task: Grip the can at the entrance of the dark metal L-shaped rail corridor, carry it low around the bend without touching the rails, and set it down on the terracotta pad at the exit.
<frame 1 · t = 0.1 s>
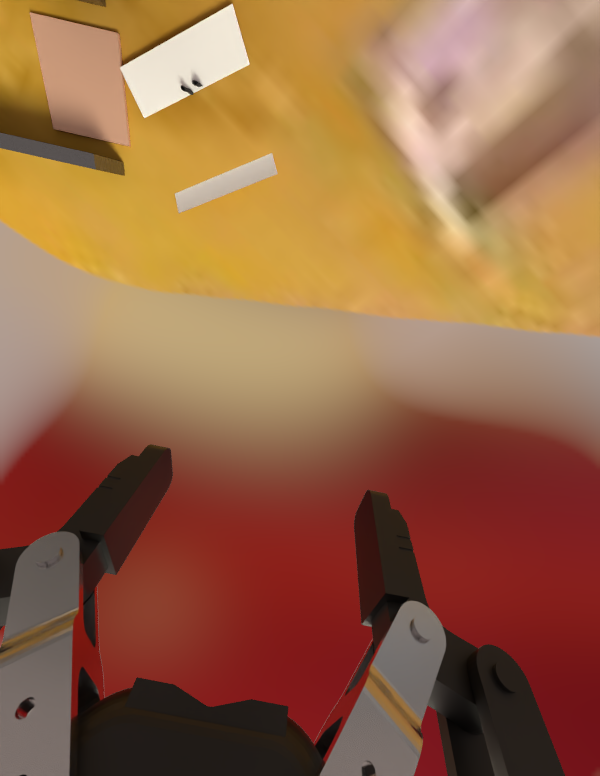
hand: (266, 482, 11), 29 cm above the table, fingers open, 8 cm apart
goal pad: (85, 85, 28), on the table
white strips: (207, 128, 29), on the table
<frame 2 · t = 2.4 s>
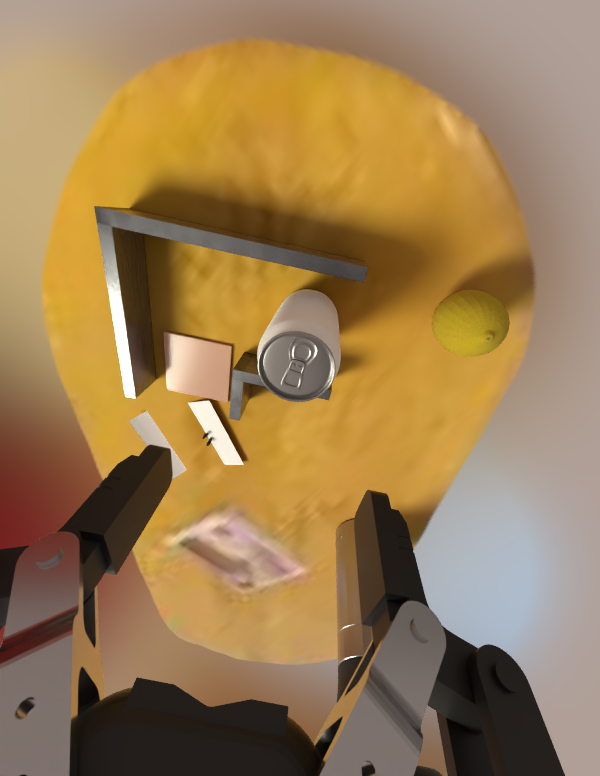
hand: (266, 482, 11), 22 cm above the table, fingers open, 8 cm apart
can: (308, 318, 30), on the table
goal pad: (198, 368, 35), on the table
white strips: (193, 435, 41), on the table
guide rails: (242, 322, 31), on the table
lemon: (449, 310, 29), on the table
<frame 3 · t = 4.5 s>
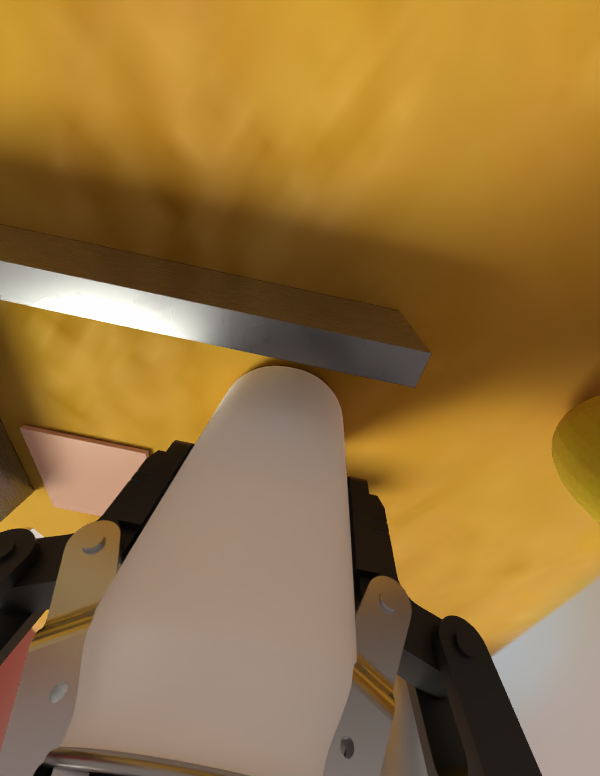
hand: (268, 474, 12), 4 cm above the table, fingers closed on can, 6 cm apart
can: (284, 412, 16), on the table, touching gripper
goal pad: (98, 479, 20), on the table
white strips: (116, 555, 27), on the table
guide rails: (160, 416, 16), on the table
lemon: (576, 406, 14), on the table
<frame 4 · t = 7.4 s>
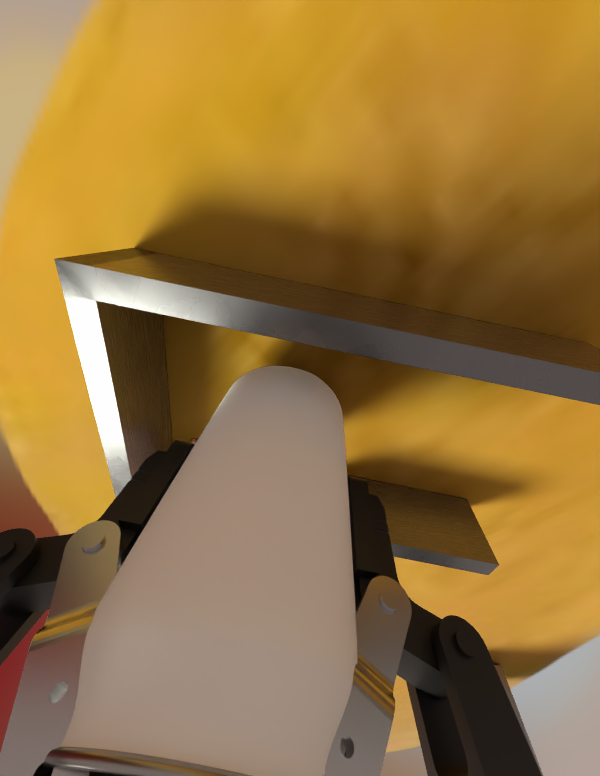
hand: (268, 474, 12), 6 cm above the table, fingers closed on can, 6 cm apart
can: (284, 412, 16), point 2 cm above the table, touching gripper
guide rails: (328, 432, 18), on the table
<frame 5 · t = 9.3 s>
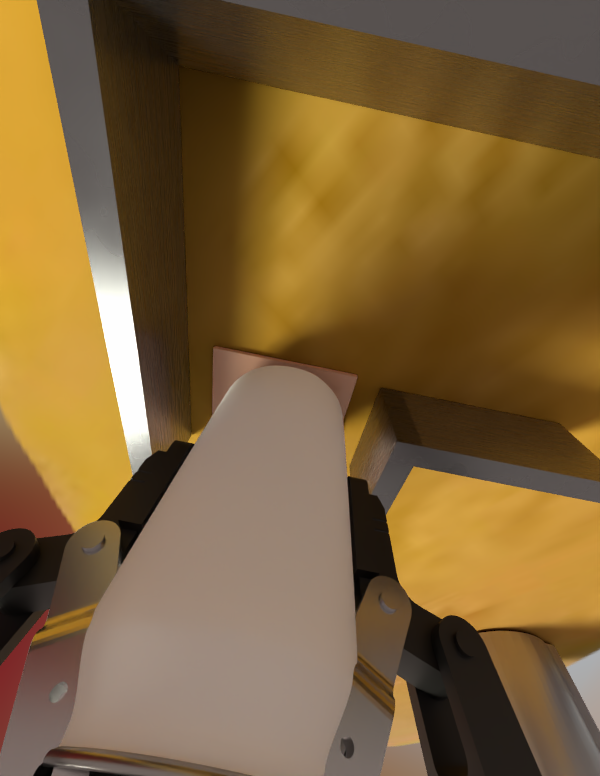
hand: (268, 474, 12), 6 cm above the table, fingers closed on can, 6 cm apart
can: (284, 412, 16), point 1 cm above the table, touching gripper
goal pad: (276, 416, 18), on the table
guide rails: (393, 327, 14), on the table
when the fingers open (5 cm above the table, at t = 10.6 s): can stays where it is, resting on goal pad.
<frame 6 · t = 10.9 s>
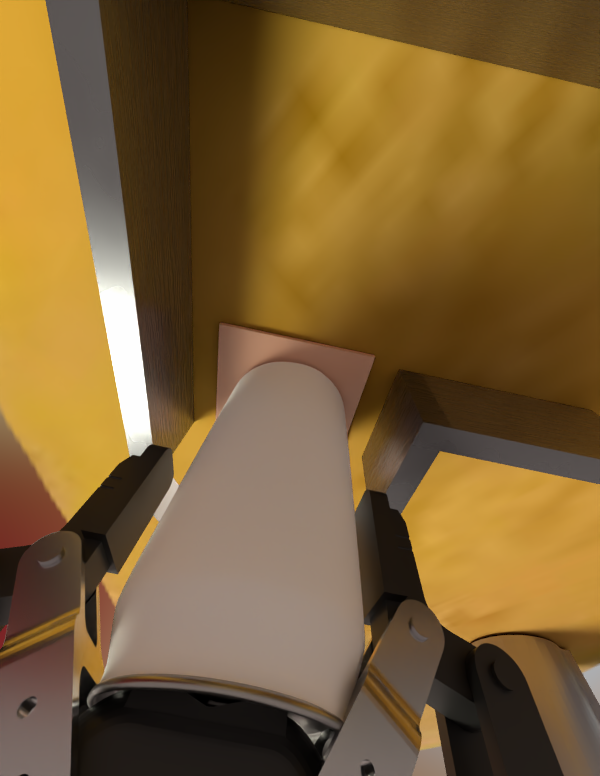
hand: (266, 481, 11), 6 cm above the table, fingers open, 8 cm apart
can: (288, 406, 16), resting on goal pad
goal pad: (285, 401, 16), on the table
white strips: (252, 511, 23), on the table
guide rails: (416, 300, 13), on the table
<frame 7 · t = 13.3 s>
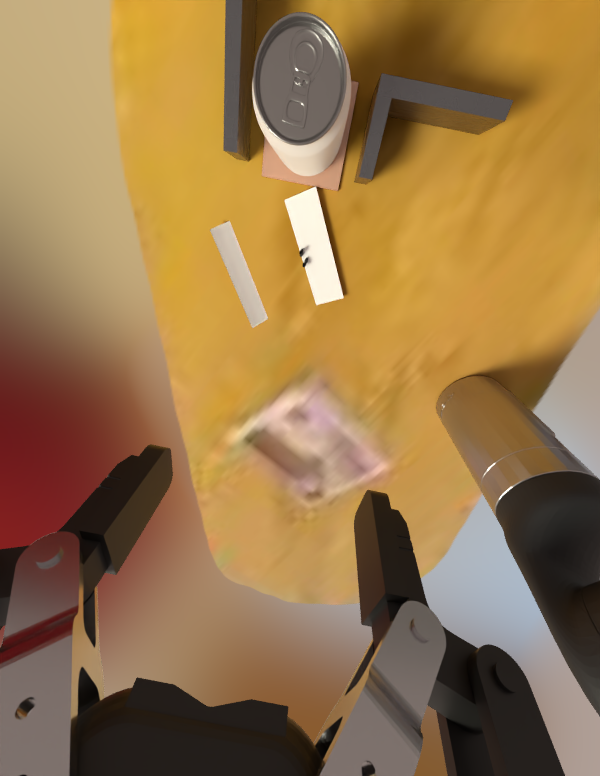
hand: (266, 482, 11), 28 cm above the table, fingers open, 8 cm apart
can: (308, 135, 27), resting on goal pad
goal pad: (306, 133, 27), on the table
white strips: (282, 262, 34), on the table
guide rails: (379, 35, 24), on the table
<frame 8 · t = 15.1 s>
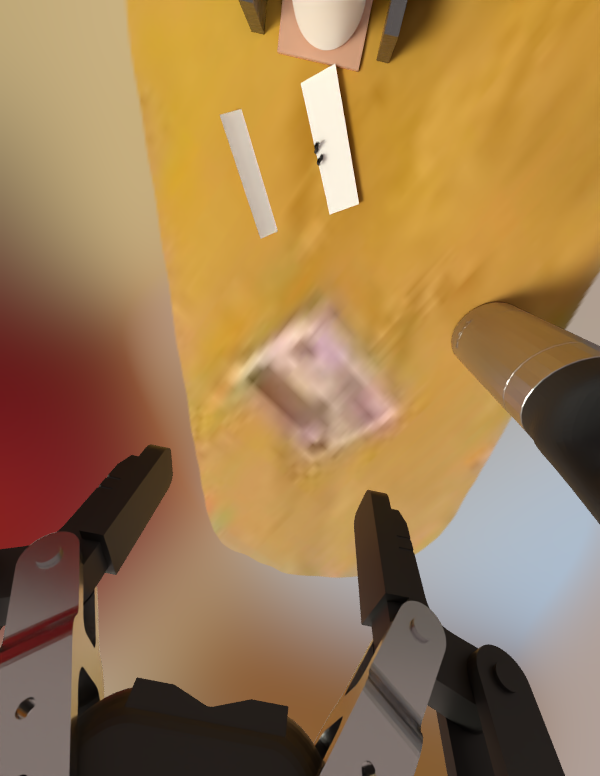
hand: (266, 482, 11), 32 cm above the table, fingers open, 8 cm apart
can: (329, 1, 25), resting on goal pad
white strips: (294, 163, 32), on the table
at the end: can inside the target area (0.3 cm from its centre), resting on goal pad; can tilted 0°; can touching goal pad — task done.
